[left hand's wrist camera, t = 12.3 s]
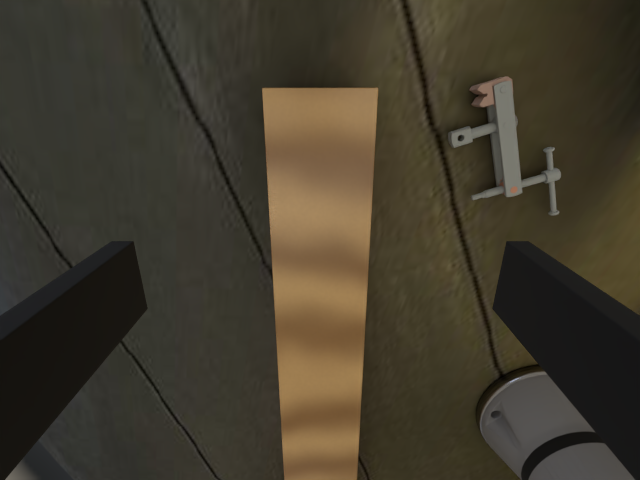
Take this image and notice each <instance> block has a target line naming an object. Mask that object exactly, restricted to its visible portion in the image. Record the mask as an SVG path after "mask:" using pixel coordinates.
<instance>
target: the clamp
mask: <svg viewBox="0 0 640 480" xmlns="http://www.w3.org/2000/svg"><path fill="white" fill-rule="evenodd" d="M469 91H471V92H472V93H474V94H476V95H477V94H479V96H478V97H476V98H475V99H474V101H473V102H472V104H471V105H472V106H474V107H485V106H486V107H487V115H488V124H485V125H482V126H479V127H475V128H472V129H471V128H470V127H469V126H467V127H464V128H461V129H457V130H454V131H451V132H449V133H448V141H449V144H450V146H451V147H452V148H455V147H459V146H462V145H465V144H469V143H472V142H473V140H472V139H474V138H477V137H480V136H484V135H487V134H490V139H491V147H492V155H493V163H494V171H495V179H496V187H495V188H492V189H488V190H485V191H483V192H481V193H479V194H475V195H472V196H471V200H476V199H479V198H484V197H485V198H487V197H491V196H494V195H498V194H501V193H502V194H504V195H505V196H506V197H512V196H516V195H518V194H521V193H522V187H526V186H529V185H533V184H536V183H540V182H543V183H545V184H546V183H548V184H549V196H550V209H551V211H549V212H548V214H549V215H557V214H559V211H558V210H556V196H555V183H554V181H556V180H559V179H560V177H561V172H560V170H559V169H557V168H553V156H552V151H554V150H555V148H554V147H547V148H545V149H543V152H546V159H547V170H545V171H542V172H541V174H540V175H537V176H534V177H530V178H527V179H523V180H521V174H520V164H519V154H518V143H517V133H516V126H517V124H518V119H517V117H516V115H515V113H514V102H513V84H512V79H511V78H509V77H500V78H497V79H494V80H490V81H487V82H484V83H480V84H477V85H474V86H471V88H470V90H469ZM459 135H460V136H461V138H460V139H459V140H458V136H459Z"/></svg>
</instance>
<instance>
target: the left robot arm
mask: <svg viewBox="0 0 640 480" xmlns="http://www.w3.org/2000/svg"><path fill="white" fill-rule="evenodd" d="M146 310H147V304H146V299H145V294H144V290H143V285H142V280H141V275H140V270H139V266H138V261H137V256H136V251H135V247H134V242H133V241H111V242H110V243H108V244H107V245H106V246H104V247H103V248H101V249H100V250H98V251H97V252H95V253H94V254H92V255H91V256H89V257H88V258H86V259H85V260H83V261H82V262H80V263H79V264H77V265H76V266H74V267H73V268H71V269H70V270H68V271H67V272H65V273H64V274H62V275H61V276H59V277H58V278H56V279H55V280H53V281H52V282H50V283H49V284H47V285H46V286H44V287H43V288H41V289H40V290H38V291H37V292H35V293H34V294H32V295H31V296H29V297H28V298H26V299H25V300H23V301H22V302H20V303H19V304H17V305H16V306H14V307H13V308H11V309H10V310H8V311H7V312H5V313H4V314H2V315H1V316H0V480H5V479H6V478H7V477H8V475H9V474H10V473H11V472H12V471H13V469H14V468H15V467H16V466H17V464H18V463H19V462H20V461H21V460H22V459H23V457H24V456H25V455H26V454H27V453H28V451H29V450H30V449H31V448H32V447H33V445H34V444H35V443H36V442H37V441H38V439H39V438H40V437H41V436H42V435H43V433H44V432H45V431H46V430H47V429H48V427H49V426H50V425H51V424H52V423H53V421H54V420H55V419H56V418H57V417H58V415H59V414H60V413H61V412H62V411H63V409H64V408H65V407H66V406H67V405H68V403H69V402H70V401H71V400H72V399H73V397H74V396H75V395H76V394H77V393H78V391H79V390H80V389H81V388H82V387H83V385H84V384H85V383H86V382H87V381H88V379H89V378H90V377H91V376H92V375H93V373H94V372H95V371H96V370H97V369H98V367H99V366H100V365H101V364H102V363H103V361H104V360H105V359H106V358H107V357H108V355H109V354H110V353H111V352H112V351H113V350H114V348H115V347H116V346H117V345H118V344H119V342H120V341H121V340H122V339H123V338H124V336H125V335H126V334H127V333H128V332H129V330H130V329H131V328H132V327H133V326H134V324H135V323H136V322H137V321H138V320H139V318H140V317H141V316H142V315H143V314H144V312H145V311H146ZM493 310H494V311H495V312H496V314H497V315H498V316H499V317H500V318H501V320H502V321H503V322H504V323H505V324H506V326H507V327H508V328H509V329H510V330H511V332H512V333H513V334H514V335H515V336H516V338H517V339H518V340H519V341H520V342H521V344H522V345H523V346H524V347H525V348H526V350H527V351H528V352H529V353H530V354H531V355H532V357H533V358H534V359H535V360H536V361H537V363H538V364H539V365H540V366H541V367H542V369H543V370H544V371H545V372H546V373H547V375H548V376H549V377H550V378H551V379H552V381H553V382H554V383H555V384H556V385H557V387H558V388H559V389H560V390H561V391H562V393H563V394H564V395H565V396H566V397H567V399H568V400H569V401H570V402H571V403H572V405H573V406H574V407H575V408H576V409H577V411H578V412H579V413H580V414H581V415H582V417H583V418H584V419H585V420H586V421H587V423H588V424H589V425H590V426H591V427H592V429H593V430H594V431H595V432H596V433H597V435H598V436H599V437H600V438H601V439H602V441H603V442H604V443H605V444H606V445H607V447H608V448H609V449H610V450H611V451H612V453H613V454H614V455H615V456H616V457H617V459H618V460H619V461H620V462H621V463H622V465H623V466H624V467H625V468H626V469H627V471H628V472H629V473H630V474H631V475H632V477H633V478H634V479H635V480H640V315H638V314H636V313H635V312H633V311H632V310H630V309H629V308H627V307H626V306H624V305H623V304H621V303H620V302H618V301H617V300H615V299H614V298H612V297H611V296H609V295H608V294H606V293H605V292H603V291H602V290H600V289H599V288H597V287H596V286H594V285H593V284H591V283H590V282H588V281H587V280H585V279H584V278H582V277H581V276H579V275H578V274H576V273H575V272H573V271H572V270H570V269H569V268H567V267H566V266H564V265H563V264H561V263H560V262H558V261H557V260H555V259H554V258H552V257H551V256H549V255H548V254H546V253H545V252H543V251H542V250H540V249H539V248H537V247H536V246H534V245H533V244H531V243H530V242H529V241H507V242H506V247H505V251H504V256H503V261H502V266H501V270H500V275H499V280H498V285H497V290H496V294H495V299H494V304H493Z"/></svg>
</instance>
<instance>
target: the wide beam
mask: <svg viewBox="0 0 640 480" xmlns="http://www.w3.org/2000/svg"><path fill="white" fill-rule="evenodd" d="M262 94H263V112H264V129H265V147H266V165H267V182H268V200H269V217H270V235H271V253H272V270H273V288H274V305H275V323H276V341H277V358H278V376H279V393H280V411H281V429H282V446H283V464H284V480H357V469H358V451H359V432H360V414H361V396H362V377H363V359H364V340H365V322H366V304H367V285H368V267H369V248H370V230H371V212H372V193H373V175H374V156H375V138H376V119H377V101H378V88H262Z"/></svg>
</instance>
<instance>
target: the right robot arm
mask: <svg viewBox="0 0 640 480" xmlns="http://www.w3.org/2000/svg"><path fill="white" fill-rule="evenodd" d="M476 421H477V425H478V427H479V429H480V431H481V433H482V435H483V437H484V439H485V441H486V442H487V443H488V445H489V446H490V447H491V448H492V449H493V450H494V451H495V452H496V453H497V455H498V456H499V457H500V458H501V459H502V460H503V461H504V462H505V463H506V464H507V465H508V466H509V467H510V468H511V469H512V470H513V471H514V472H515V474H516V475H517V476H518V477H519V478H520V479H521V480H635V479H634V478H633V477H632V475H631V474H630V473H629V472H628V471H627V469H626V468H625V467H624V466H623V465H622V463H621V462H620V461H619V460H618V459H617V457H616V456H615V455H614V454H613V453H612V451H611V450H610V449H609V448H608V447H607V445H606V444H605V443H604V442H603V441H602V439H601V438H600V437H599V436H598V435H597V433H596V432H595V431H594V430H593V429H592V427H591V426H590V425H589V424H588V423H587V421H586V420H585V419H584V418H583V417H582V415H581V414H580V413H579V412H578V411H577V409H576V408H575V407H574V406H573V405H572V403H571V402H570V401H569V400H568V399H567V397H566V396H565V395H564V394H563V393H562V391H561V390H560V389H559V388H558V387H557V385H556V384H555V383H554V382H553V381H552V379H551V378H550V377H549V376H548V375H547V373H546V372H545V371H544V370H543V369H542V367H541V366H540V365H539V366H530V367H526V368H522V369H519V370H516V371H513V372H511V373H509V374H507V375H505V376H503V377H502V378H500V379H499V380H497V381H496V382H495V383H493V384H492V385H491V386H490V387H489V388H488V389H487V390H486V391H485V393H484V394H483V396H482V397H481V399H480V401H479V403H478V406H477V410H476Z"/></svg>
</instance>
